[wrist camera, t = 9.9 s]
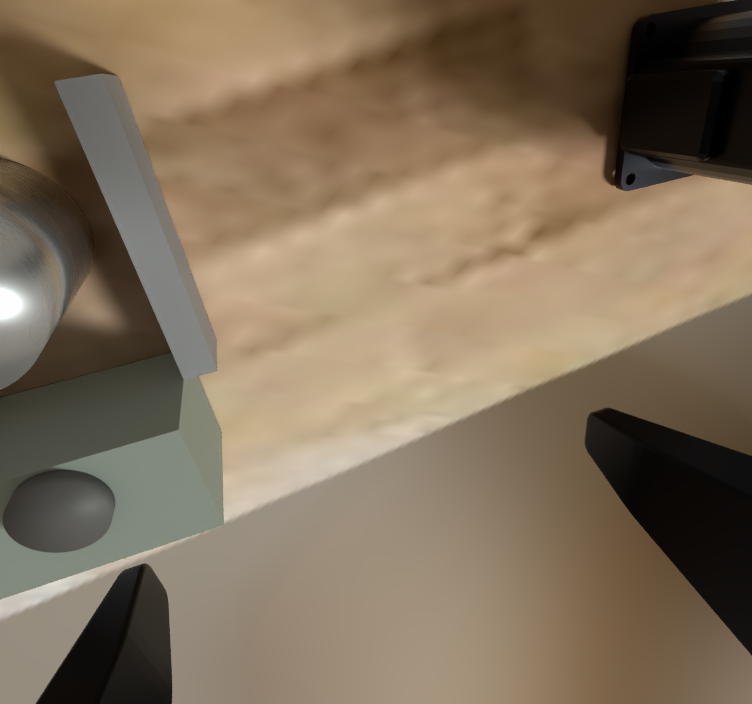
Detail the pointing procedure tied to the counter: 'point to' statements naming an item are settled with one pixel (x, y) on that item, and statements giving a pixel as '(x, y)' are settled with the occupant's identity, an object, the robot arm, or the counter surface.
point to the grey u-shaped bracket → (115, 396)
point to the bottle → (36, 264)
